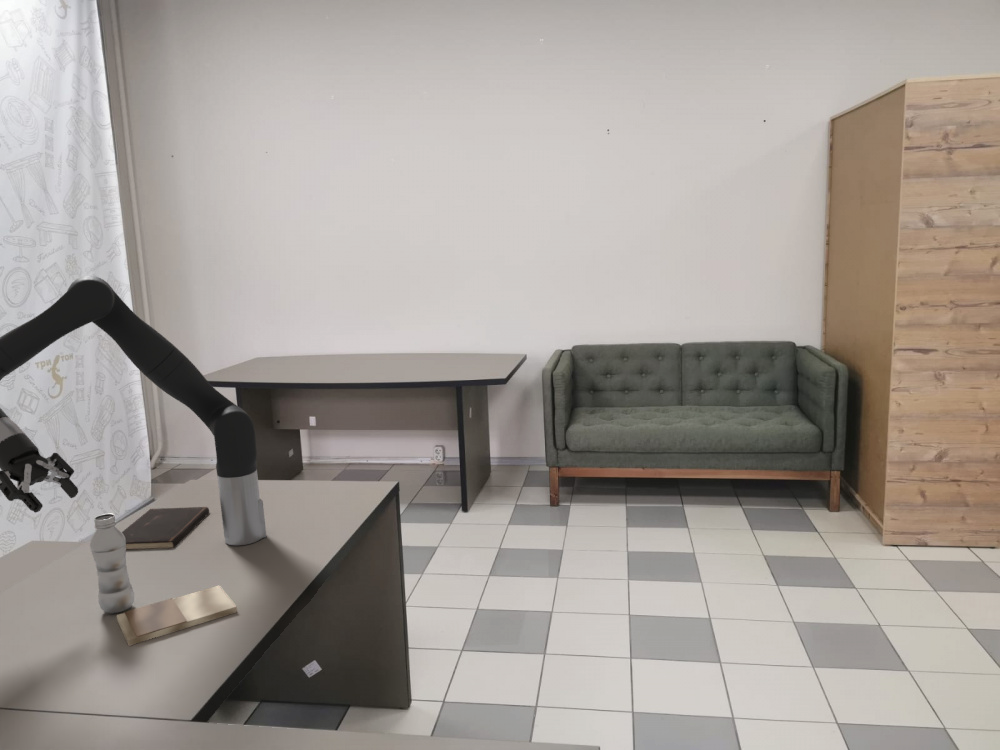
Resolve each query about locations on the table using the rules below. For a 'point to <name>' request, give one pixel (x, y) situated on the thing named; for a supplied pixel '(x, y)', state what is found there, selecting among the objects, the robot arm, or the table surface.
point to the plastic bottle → (111, 565)
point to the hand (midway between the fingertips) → (57, 502)
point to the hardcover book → (163, 527)
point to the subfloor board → (175, 614)
